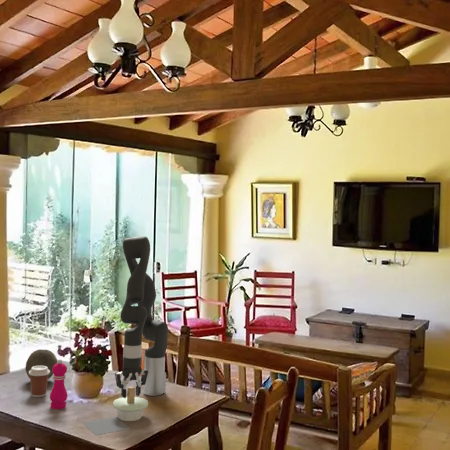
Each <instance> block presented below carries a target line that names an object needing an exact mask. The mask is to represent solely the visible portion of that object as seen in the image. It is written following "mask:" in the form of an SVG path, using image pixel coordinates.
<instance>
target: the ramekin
mask: <svg viewBox="0 0 450 450" xmlns="http://www.w3.org/2000/svg"><path fill="white" fill-rule="evenodd" d="M143 412H144V409H143V410H139V411H121V410H118V409H116V413H117V415H116V416H117V418H118V419H119V420H121V421H122V422H135V421H139V420H140V419H142V418H143Z"/></svg>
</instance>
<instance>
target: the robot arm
mask: <svg viewBox="0 0 450 450" xmlns="http://www.w3.org/2000/svg"><path fill="white" fill-rule="evenodd" d="M150 242H151V241H150V240H149V238H148V237H147V236H143V235H141V236H136V237H135V236H134V237H127V238H125V239H123V241H122V250H123V254H124V257H125V260H126V263H127V267H128V270H129V273H130V276H129V278H128V280H127V284H126V296H125V301H124V304H123V306H122V309H121V311H120V315H119V316H120V320H121V322H122V323H124V324H133V325H134V324H137V326H135V327H133V328H127V329H126V330H124V335H123V336H124V339H123V350H122V369H121V371H119V372H115V373H114V378H115V383H116V387H118V388H119V389H121V391H120V396H121V398H122V397H123V398H126V397H127V388H128V385H129V383H130V381H131V382H132V381H134V383H135V385H136V386H135V397H140V395H141V393H142V392H141V391H142V386H143V394H144V395H145V396H151V397H153V396H155V397H156V396H158V397H159V396H161V394H162V395H164V394H166V389H167V388H166V387H167V382H166V381H167V372H165V369H166V368H165V366H166V365H165V364H166V363H165V362H166V352H167V348H168V337H169V327H168V323H166V322H164V321H160V320H154V318H153V314H152V309H153V305H154V304H155V302H156V299H157V291H156V287H155V282H154V280H153V278H152V277H151V276H150V275H149V274H148V273H147V271H148V265H149V261H150V255H151V243H150ZM137 259H139V262H137ZM135 304H137V305H135ZM143 338H144V339H145V340H148V341H151V342H153V341H154V345H153V346H152V347H151V346H150V347H148V348H145V350H144V368H143V369H142V360H143V359H142V358H143V357H142V356H143V346H142V345H143V344H142V343H143V342H142V341H143ZM140 375H141V377H140ZM122 377H123V378H122ZM121 379H122V380H121ZM163 393H164V394H163Z"/></svg>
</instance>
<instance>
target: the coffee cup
mask: <svg viewBox="0 0 450 450" xmlns="http://www.w3.org/2000/svg"><path fill="white" fill-rule="evenodd" d="M48 374H50V370H48V367H46V366H34V367H32V368H31V370H30V371H29V375H30V378H29V379H30V395H31V397H34V398H38V397H39V398H42V397H45V396H46V395H47V391H48V390H47V387H48V381H49V379H48Z"/></svg>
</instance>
